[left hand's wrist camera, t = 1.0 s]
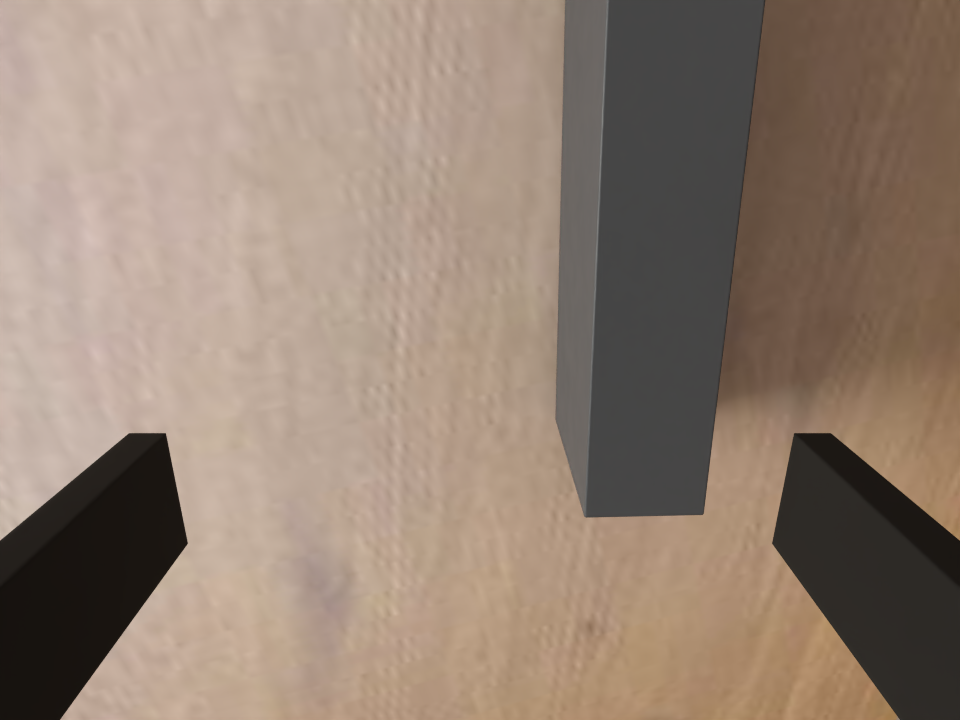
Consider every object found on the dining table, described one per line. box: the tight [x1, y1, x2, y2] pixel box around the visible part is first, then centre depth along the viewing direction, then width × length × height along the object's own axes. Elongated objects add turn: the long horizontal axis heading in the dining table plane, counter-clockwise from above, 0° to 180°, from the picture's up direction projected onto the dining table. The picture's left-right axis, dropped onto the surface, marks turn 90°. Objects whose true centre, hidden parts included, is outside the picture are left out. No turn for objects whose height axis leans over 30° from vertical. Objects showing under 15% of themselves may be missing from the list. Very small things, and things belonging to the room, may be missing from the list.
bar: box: [556, 0, 765, 517], centre depth 23 cm, size 24×4×9 cm, turn 1°
